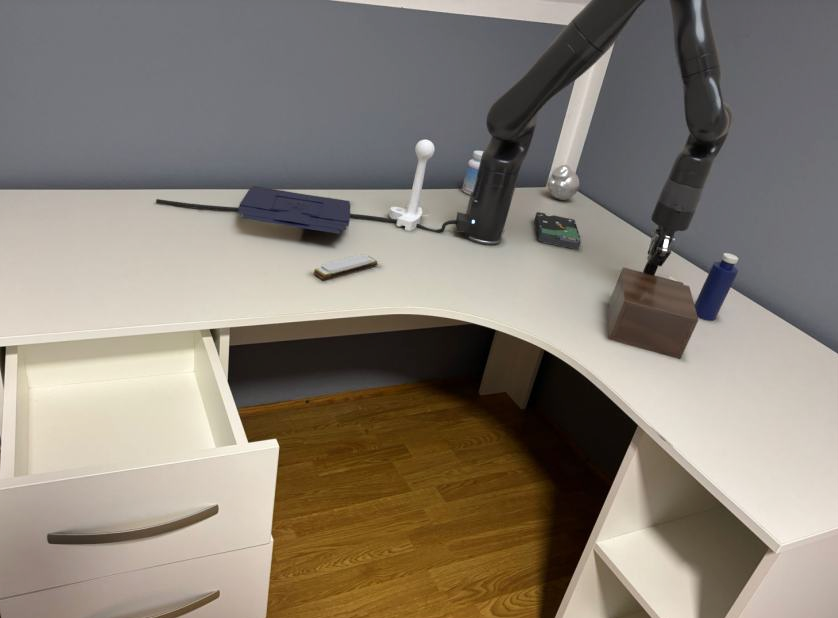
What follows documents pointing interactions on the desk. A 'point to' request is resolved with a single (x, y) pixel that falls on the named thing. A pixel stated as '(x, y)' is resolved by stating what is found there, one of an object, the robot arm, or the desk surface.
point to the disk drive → (557, 230)
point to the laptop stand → (295, 209)
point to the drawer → (652, 275)
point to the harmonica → (345, 266)
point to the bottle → (716, 287)
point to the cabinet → (651, 313)
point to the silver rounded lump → (563, 183)
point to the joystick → (414, 189)
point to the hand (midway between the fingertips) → (646, 278)
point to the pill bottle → (472, 172)
